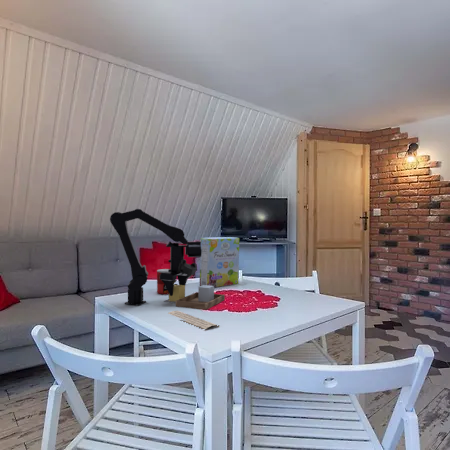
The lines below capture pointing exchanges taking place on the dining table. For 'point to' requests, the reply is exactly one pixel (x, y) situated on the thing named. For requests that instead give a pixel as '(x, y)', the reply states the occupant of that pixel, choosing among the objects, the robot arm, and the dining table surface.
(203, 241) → the snack box
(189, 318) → the tan flat ridged strip
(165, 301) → the slate pad
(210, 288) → the grey-blue block
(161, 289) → the canned food
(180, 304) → the walnut tray
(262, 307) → the dining table surface
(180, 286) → the mustard block
